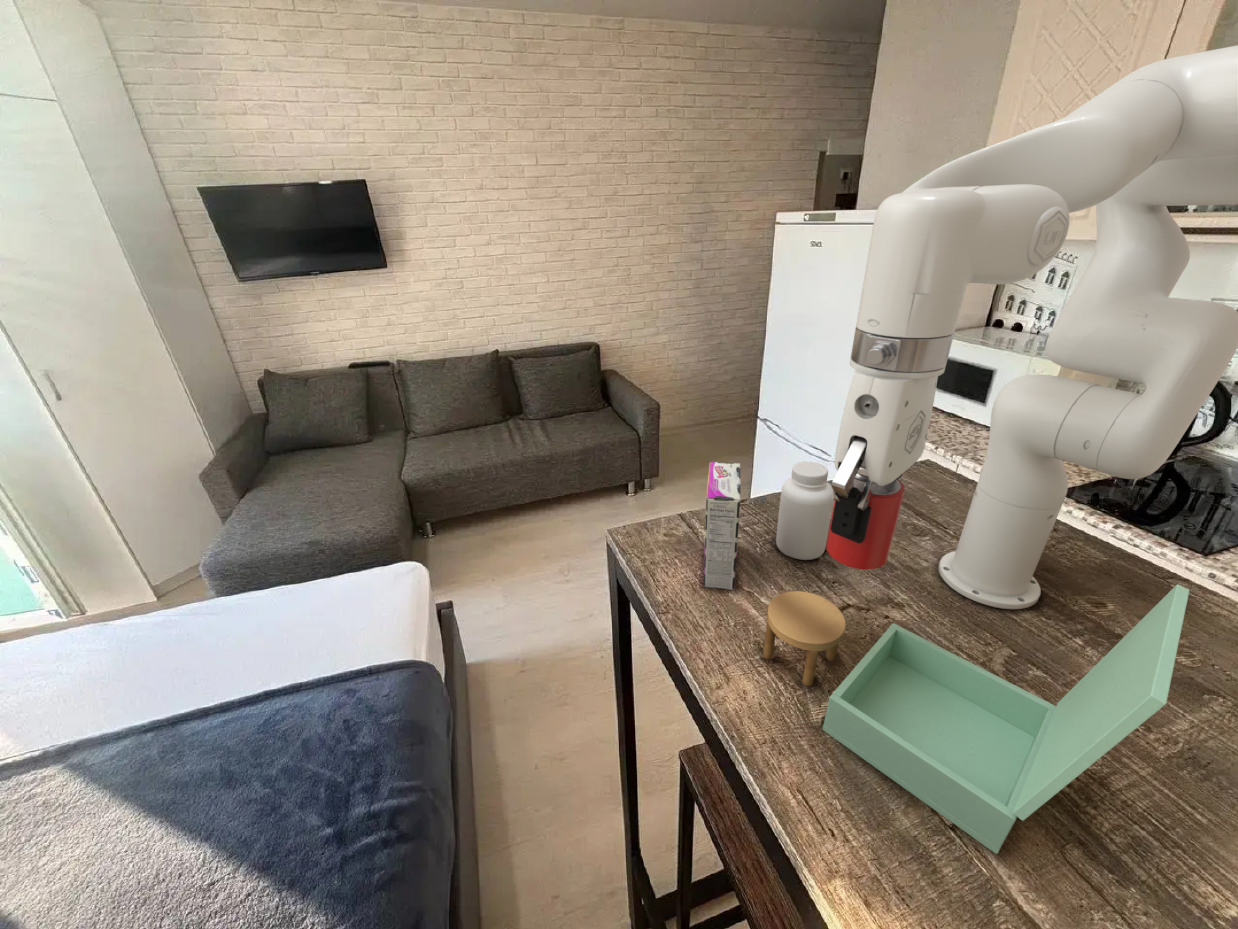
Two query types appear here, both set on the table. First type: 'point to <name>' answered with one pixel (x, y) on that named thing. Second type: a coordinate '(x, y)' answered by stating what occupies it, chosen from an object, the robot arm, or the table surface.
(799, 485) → the pill bottle
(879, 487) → the soda can
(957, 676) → the box
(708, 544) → the candy bar box
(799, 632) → the stool
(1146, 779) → the table surface
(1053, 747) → the lid
